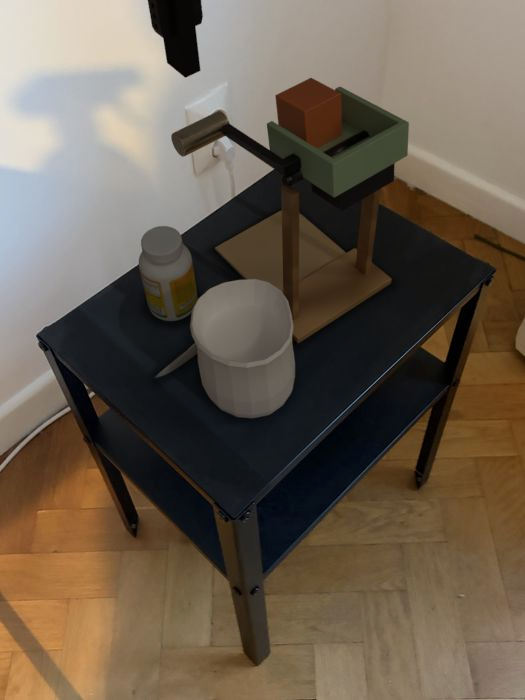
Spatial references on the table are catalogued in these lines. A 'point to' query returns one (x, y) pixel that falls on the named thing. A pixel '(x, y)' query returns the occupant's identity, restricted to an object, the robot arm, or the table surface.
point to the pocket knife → (179, 360)
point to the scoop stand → (328, 271)
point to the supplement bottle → (167, 274)
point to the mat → (277, 250)
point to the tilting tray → (320, 150)
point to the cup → (245, 347)
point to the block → (310, 112)
